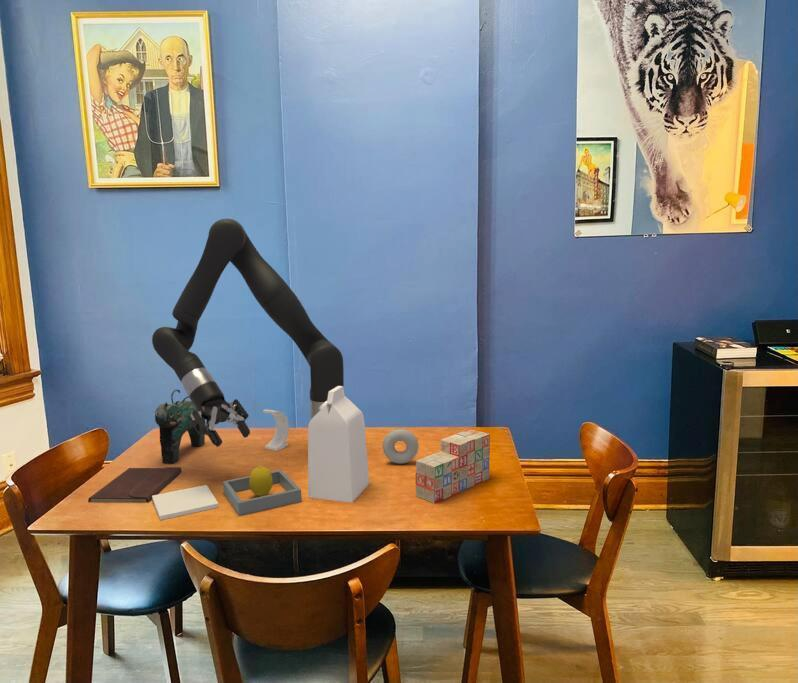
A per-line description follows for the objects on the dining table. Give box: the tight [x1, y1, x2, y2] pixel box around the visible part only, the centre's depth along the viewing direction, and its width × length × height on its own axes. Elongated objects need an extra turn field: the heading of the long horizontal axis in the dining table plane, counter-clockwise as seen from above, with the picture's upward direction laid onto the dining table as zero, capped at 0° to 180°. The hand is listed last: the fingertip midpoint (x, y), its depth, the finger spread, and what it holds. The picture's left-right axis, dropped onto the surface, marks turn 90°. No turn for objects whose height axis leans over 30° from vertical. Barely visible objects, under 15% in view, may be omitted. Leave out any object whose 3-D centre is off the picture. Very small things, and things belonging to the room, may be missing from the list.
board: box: [151, 484, 220, 521], centre depth 146 cm, size 13×13×1 cm
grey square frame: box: [222, 469, 303, 517], centre depth 149 cm, size 15×15×3 cm
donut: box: [382, 428, 419, 465], centre depth 169 cm, size 10×4×10 cm, turn 88°
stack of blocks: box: [415, 428, 491, 504], centre depth 152 cm, size 21×6×12 cm, turn 135°
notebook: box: [87, 466, 183, 504], centre depth 157 cm, size 15×20×2 cm
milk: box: [307, 386, 370, 503], centre depth 151 cm, size 12×12×26 cm
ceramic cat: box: [154, 389, 206, 465], centre depth 180 cm, size 20×6×20 cm, turn 166°
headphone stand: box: [262, 409, 290, 452], centre depth 185 cm, size 5×6×12 cm
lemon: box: [249, 465, 273, 497], centre depth 149 cm, size 6×6×8 cm
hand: (234, 440), depth 153 cm, fingers open, 8 cm apart
